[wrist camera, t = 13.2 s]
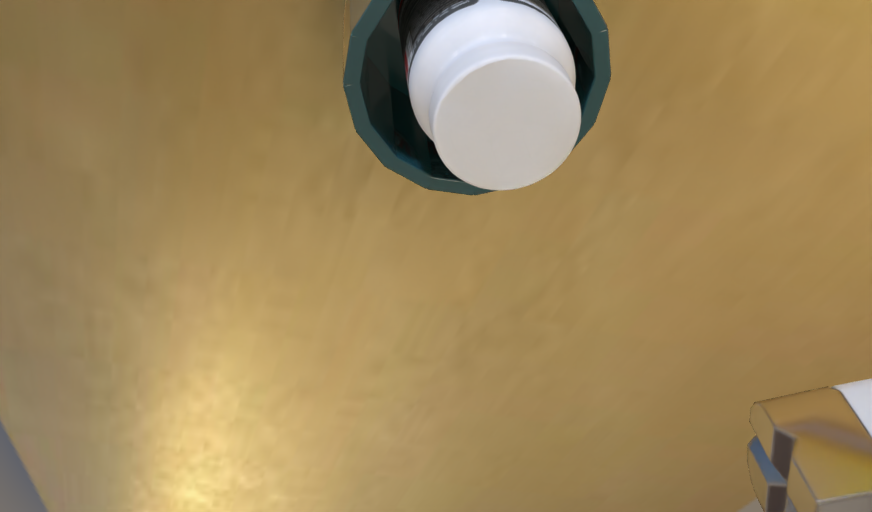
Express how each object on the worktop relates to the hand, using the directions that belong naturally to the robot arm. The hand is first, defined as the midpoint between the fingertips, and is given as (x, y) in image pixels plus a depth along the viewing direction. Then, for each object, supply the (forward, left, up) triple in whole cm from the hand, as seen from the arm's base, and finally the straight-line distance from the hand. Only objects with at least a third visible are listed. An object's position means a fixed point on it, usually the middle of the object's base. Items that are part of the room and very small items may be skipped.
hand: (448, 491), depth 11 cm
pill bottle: (+3, -4, -26) cm, 26 cm away
